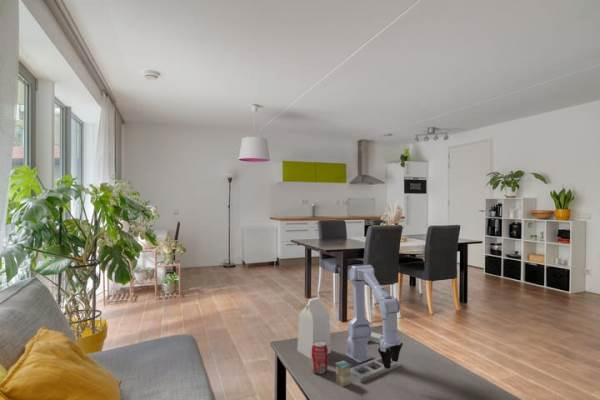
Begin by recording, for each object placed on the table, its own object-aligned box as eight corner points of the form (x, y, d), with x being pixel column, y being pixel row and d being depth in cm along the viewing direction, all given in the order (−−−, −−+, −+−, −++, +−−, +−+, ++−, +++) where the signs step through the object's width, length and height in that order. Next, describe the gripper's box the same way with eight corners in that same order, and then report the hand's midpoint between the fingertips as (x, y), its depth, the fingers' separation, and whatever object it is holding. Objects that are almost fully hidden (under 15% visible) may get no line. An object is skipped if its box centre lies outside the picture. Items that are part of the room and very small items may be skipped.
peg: (335, 382, 140) (335, 363, 140) (343, 378, 142) (343, 360, 142) (342, 387, 136) (342, 367, 136) (350, 383, 139) (350, 364, 138)
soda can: (318, 365, 154) (319, 338, 154) (330, 370, 149) (331, 343, 149) (308, 370, 149) (308, 343, 149) (320, 376, 144) (320, 348, 144)
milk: (312, 359, 159) (312, 304, 158) (297, 350, 168) (297, 298, 167) (331, 352, 166) (331, 299, 166) (315, 344, 175) (315, 294, 175)
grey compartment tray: (347, 374, 146) (347, 369, 146) (385, 359, 159) (385, 355, 159) (360, 382, 139) (360, 377, 139) (399, 366, 153) (399, 361, 153)
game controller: (358, 337, 177) (367, 327, 185) (359, 344, 178) (368, 334, 186) (384, 344, 168) (392, 334, 176) (385, 352, 169) (393, 341, 177)
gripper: (392, 336, 127) (393, 373, 126) (406, 326, 139) (407, 360, 138) (374, 332, 132) (375, 369, 131) (390, 323, 143) (391, 356, 142)
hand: (391, 364), depth 135 cm, fingers open, 7 cm apart
